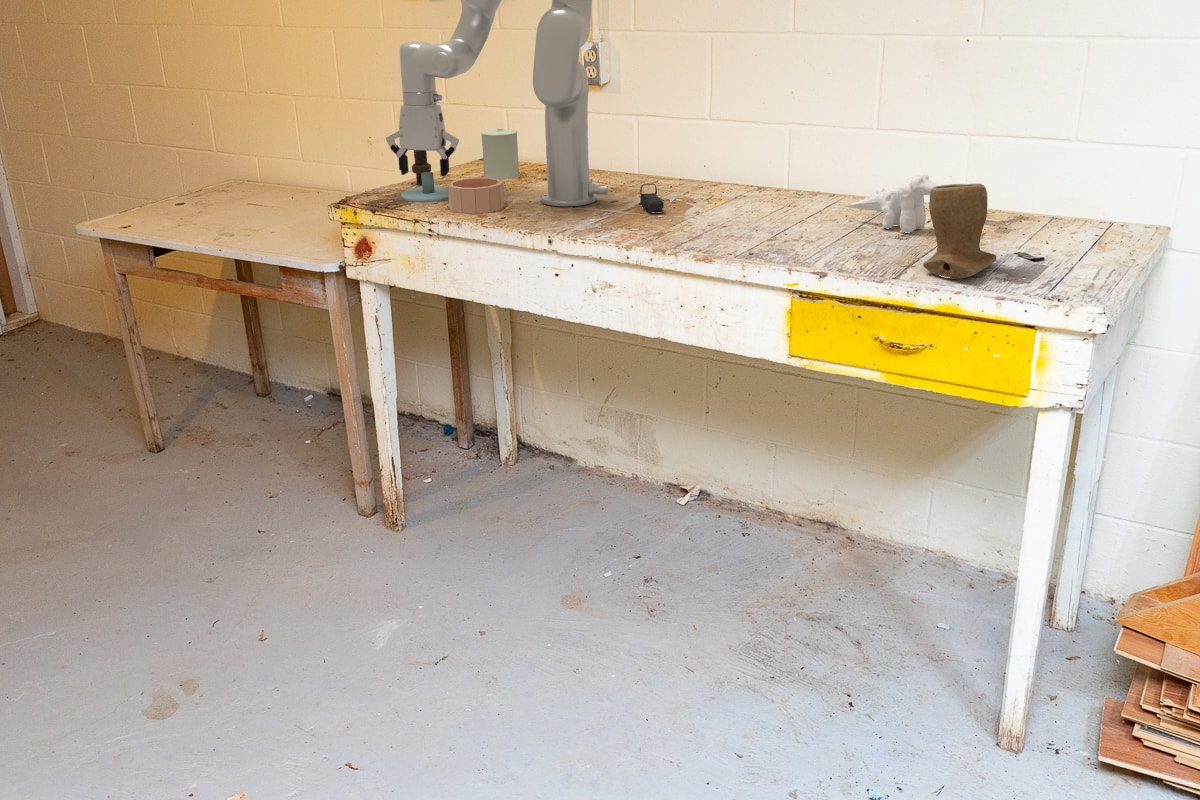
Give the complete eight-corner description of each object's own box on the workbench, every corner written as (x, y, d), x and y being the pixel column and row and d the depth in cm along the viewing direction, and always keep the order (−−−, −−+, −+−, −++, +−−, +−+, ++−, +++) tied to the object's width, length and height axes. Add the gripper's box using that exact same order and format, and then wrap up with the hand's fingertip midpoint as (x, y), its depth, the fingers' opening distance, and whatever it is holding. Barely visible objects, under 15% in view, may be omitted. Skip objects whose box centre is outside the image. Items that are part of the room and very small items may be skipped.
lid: (463, 190, 252) (461, 168, 250) (447, 202, 240) (445, 179, 238) (412, 189, 254) (410, 167, 252) (393, 201, 242) (390, 178, 240)
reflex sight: (647, 216, 226) (647, 193, 224) (638, 205, 235) (638, 183, 233) (665, 215, 227) (665, 192, 225) (656, 204, 236) (655, 182, 234)
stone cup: (937, 255, 192) (946, 173, 186) (1003, 265, 185) (1014, 180, 179) (903, 274, 181) (911, 188, 175) (971, 286, 174) (982, 196, 168)
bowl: (509, 204, 239) (508, 177, 237) (495, 216, 228) (494, 189, 226) (459, 203, 241) (457, 177, 239) (443, 215, 230) (441, 188, 228)
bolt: (431, 188, 257) (425, 126, 251) (411, 189, 257) (405, 126, 252) (435, 183, 263) (429, 122, 257) (415, 184, 263) (409, 123, 257)
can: (520, 173, 272) (517, 126, 268) (519, 180, 264) (517, 132, 259) (484, 174, 272) (481, 127, 267) (483, 181, 263) (479, 133, 259)
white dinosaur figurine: (943, 237, 199) (944, 179, 196) (835, 230, 216) (834, 176, 212) (961, 230, 204) (961, 173, 200) (853, 224, 220) (853, 171, 217)
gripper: (461, 98, 240) (464, 172, 247) (389, 96, 243) (395, 170, 250) (451, 102, 234) (455, 179, 240) (377, 100, 236) (383, 176, 243)
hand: (424, 174), depth 245 cm, fingers open, 9 cm apart
